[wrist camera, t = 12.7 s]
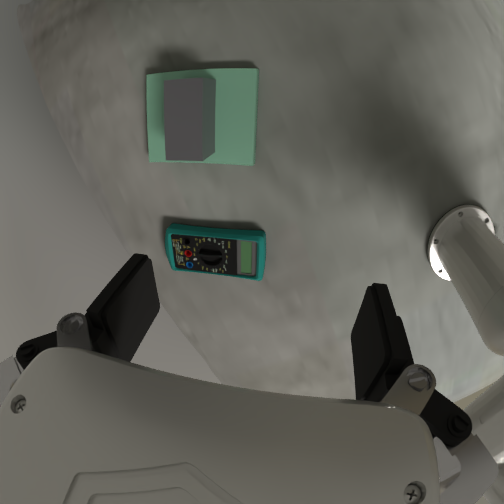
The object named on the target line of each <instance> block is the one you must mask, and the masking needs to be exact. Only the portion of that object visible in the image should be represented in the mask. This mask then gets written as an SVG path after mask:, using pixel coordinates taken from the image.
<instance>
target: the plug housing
mask: <svg viewBox="0 0 504 504" xmlns="http://www.w3.org/2000/svg"><path fill="white" fill-rule="evenodd" d="M215 103H216V79H210V78H187V79H174V80H164V132H165V156H166V160H169V161H204V160H205V159H206V158H208V157H209V156H211V155H212V154H213V153H215Z"/></svg>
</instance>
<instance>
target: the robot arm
mask: <svg viewBox="0 0 504 504" xmlns="http://www.w3.org/2000/svg"><path fill="white" fill-rule="evenodd" d="M428 260H429V262H430V265H431V267H432V268H433V270H434V272H435V273H436V274H437V275H438V276H440V277H441V278H443V279H446V280H451V281H452V283H453V285H454V287H455V288H456V290H457V292H458V294H459V295H460V297H461V299H462V301H463V303H464V304H465V306H466V308H467V310H468V312H469V314H470V316H471V318H472V320H473V322H474V324H475V326H476V328H477V330H478V332H479V334H480V336H481V338H482V340H483V342H484V343H485V345H486V346H487V348H488V349H490V350H491V351H492V352H494V353H495V354H498V355H501V356H504V244H503V243H502V242H501V241H500V239H499V238H498V237H497V236H496V235H495V234H494V226H493V222H492V220H491V218H490V217H489V215H488V214H487V213H486V212H485V211H484V210H483V209H481V208H479V207H478V206H474V205H462V206H458V207H456V208H454V209H452V210H451V211H449V212H448V213H446V214H445V215H444V216H443V217H442V218H441V219H440V220H439V222H438V223H437V224H436V226H435V228H434V229H433V231H432V233H431V236H430V239H429V243H428ZM159 309H160V303H159V298H158V293H157V288H156V283H155V277H154V272H153V266H152V261H151V259H149V258H148V256H147V255H144V254H137V253H136V254H134V255H133V256H132V257H131V258H130V259H129V260H128V261H127V262H126V263H125V265H124V266H123V267H122V268H121V269H120V271H118V273H117V274H116V275H115V276H114V277H113V278H112V280H111V281H110V282H109V283H108V284H107V286H106V287H105V288H104V289H103V290H102V292H101V293H100V294H99V295H98V297H97V298H96V299H95V300H94V301H93V303H92V304H91V305H90V306H89V308H88V309H87V310H86V311H87V313H86V314H85V316H84V315H83V314H81V313H70V314H67V315H66V316H64V317H62V318H61V320H60V321H59V322H58V324H57V331H55V332H52V333H49V334H46V335H43V336H40V337H37V338H34V339H31V340H28V341H26V342H24V343H23V344H22V345H20V347H19V348H18V350H17V352H16V357H13V356H11V357H9V358H7V359H6V360H4V361H3V362H1V363H0V504H475V503H476V502H477V501H478V500H479V499H480V498H481V496H482V495H483V496H484V497H485V499H486V500H487V502H488V503H489V504H504V375H503V376H502V377H501V378H499V379H498V380H497V381H496V382H495V383H494V384H493V385H492V386H491V387H489V388H488V389H487V390H486V391H485V392H484V393H482V394H481V395H480V396H479V397H478V398H476V399H475V400H474V401H473V402H472V403H471V404H469V405H468V406H467V407H466V408H465V409H464V410H461V409H460V408H459V407H458V406H456V405H455V404H454V403H453V402H451V401H450V400H449V399H447V398H446V397H445V396H443V395H442V394H441V393H439V392H438V391H437V390H435V386H436V379H435V376H434V374H433V373H432V371H431V370H430V369H428V368H427V367H425V366H423V365H420V364H414V361H413V358H412V354H411V350H410V346H409V343H408V339H407V336H406V332H405V329H404V326H403V322H402V319H401V317H399V316H397V315H396V312H395V309H394V306H393V303H392V299H391V296H390V293H389V290H388V287H387V285H386V284H379V283H373V284H372V286H368V287H367V290H366V293H365V296H364V299H363V302H362V304H361V307H360V310H359V313H358V316H357V319H356V321H355V324H354V327H353V329H352V333H351V344H352V354H353V364H354V376H355V390H356V400H351V399H335V398H322V397H310V396H300V395H290V394H281V393H273V392H266V391H259V390H252V389H246V388H240V387H234V386H228V385H223V384H217V383H212V382H207V381H202V380H198V379H193V378H188V377H184V376H180V375H175V374H172V373H168V372H164V371H160V370H156V369H152V368H149V367H145V366H141V365H138V364H134V363H131V362H130V361H131V360H132V358H133V356H134V354H135V352H136V351H137V349H138V347H139V345H140V343H141V341H142V340H143V338H144V336H145V334H146V333H147V331H148V329H149V328H150V326H151V324H152V322H153V320H154V319H155V317H156V315H157V314H158V312H159ZM439 477H440V482H439ZM407 485H408V486H407Z"/></svg>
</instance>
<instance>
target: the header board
mask: <svg viewBox="0 0 504 504" xmlns="http://www.w3.org/2000/svg"><path fill="white" fill-rule="evenodd" d="M187 78H210V79H216V103H215V153H213V154H212V155H211V156H209V157H208V158H206V159H205V160H204V161H169V160H166V156H165V132H164V80H174V79H187ZM258 82H259V69H255V68H221V69H198V70H184V71H173V72H164V73H156V74H148V75H147V130H148V149H149V162H192V163H217V164H235V165H249V166H253V165H254V164H255V150H256V127H257V104H258Z"/></svg>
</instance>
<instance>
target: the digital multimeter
mask: <svg viewBox="0 0 504 504" xmlns="http://www.w3.org/2000/svg"><path fill="white" fill-rule="evenodd" d="M179 234H181V235H179ZM202 236H204V237H202ZM213 237H215V238H213ZM224 238H226V239H224ZM235 239H236V240H235ZM172 248H173V249H172ZM165 249H166V254H167V257H168V261H169V263H170V265H171V268H172V269H173V270H175V271H188V272H198V273H208V274H216V275H224V276H232V277H239V278H245V279H251V280H258V281H260V280H262V278H263V273H264V268H265V259H266V234H265V232H264V231H261V230H236V229H221V228H208V227H199V226H190V225H182V224H175V223H172V224H171V225H170V226H169V227H168V228H167V229H166V236H165ZM215 266H216V267H215Z"/></svg>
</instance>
